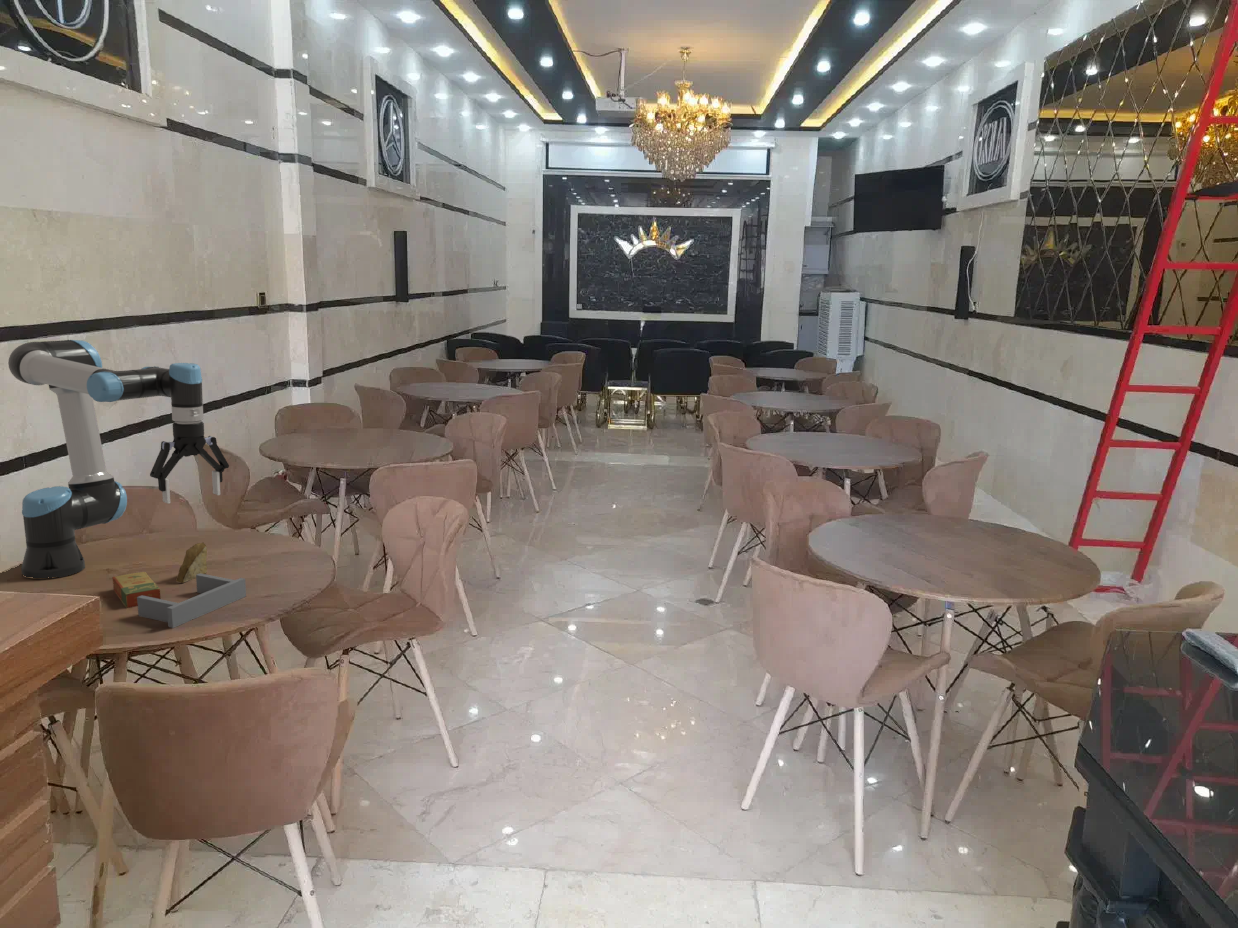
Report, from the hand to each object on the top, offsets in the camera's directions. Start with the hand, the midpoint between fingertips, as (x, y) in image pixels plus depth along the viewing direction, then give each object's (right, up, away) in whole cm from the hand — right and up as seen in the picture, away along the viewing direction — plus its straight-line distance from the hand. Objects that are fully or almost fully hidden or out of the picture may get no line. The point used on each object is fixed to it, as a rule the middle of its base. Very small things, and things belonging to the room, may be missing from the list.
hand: (192, 498), depth 235 cm
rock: (-5, -23, +10) cm, 26 cm away
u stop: (+6, -28, -12) cm, 31 cm away
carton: (-12, -26, -5) cm, 29 cm away
